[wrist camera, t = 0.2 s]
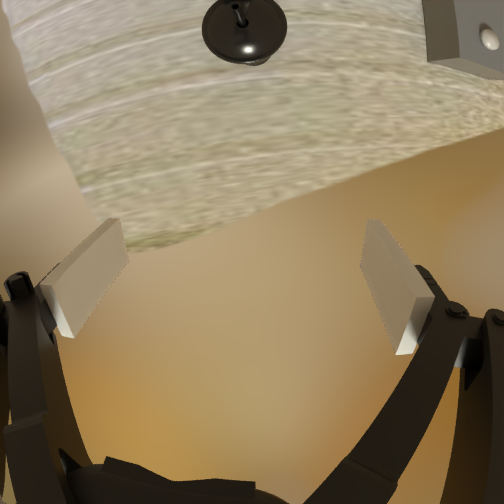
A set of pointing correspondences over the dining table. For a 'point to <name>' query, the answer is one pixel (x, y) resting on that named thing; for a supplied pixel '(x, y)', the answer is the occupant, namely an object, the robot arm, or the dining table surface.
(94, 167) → the dining table surface
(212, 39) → the drinking cup
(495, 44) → the grey box
